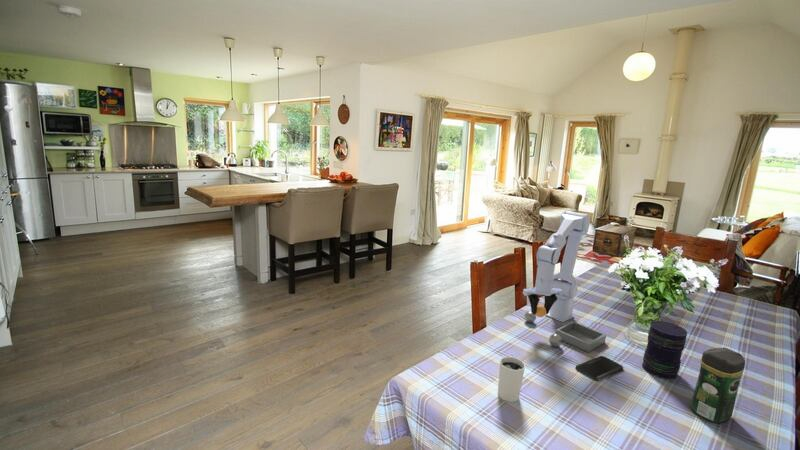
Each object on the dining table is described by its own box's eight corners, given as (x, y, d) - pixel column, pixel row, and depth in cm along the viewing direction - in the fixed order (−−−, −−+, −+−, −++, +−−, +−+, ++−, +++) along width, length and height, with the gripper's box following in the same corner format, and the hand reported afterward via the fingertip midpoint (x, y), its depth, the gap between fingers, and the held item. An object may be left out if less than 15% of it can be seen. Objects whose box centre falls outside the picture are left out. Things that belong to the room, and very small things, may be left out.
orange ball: (537, 312, 148) (538, 302, 147) (547, 317, 145) (549, 306, 144) (530, 315, 145) (532, 304, 144) (541, 320, 142) (542, 309, 141)
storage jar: (660, 381, 120) (670, 337, 117) (634, 363, 129) (642, 322, 126) (685, 377, 123) (695, 334, 119) (657, 360, 132) (666, 319, 129)
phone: (625, 367, 125) (596, 379, 118) (624, 370, 126) (596, 382, 118) (602, 355, 132) (573, 365, 124) (601, 358, 132) (573, 369, 125)
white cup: (502, 384, 114) (506, 354, 112) (524, 394, 110) (528, 363, 108) (492, 395, 109) (495, 363, 107) (514, 406, 105) (519, 373, 103)
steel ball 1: (527, 318, 158) (529, 308, 157) (537, 322, 155) (538, 312, 154) (521, 321, 156) (522, 311, 155) (531, 325, 152) (532, 315, 151)
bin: (571, 328, 152) (572, 321, 151) (604, 342, 142) (606, 334, 141) (554, 337, 144) (555, 329, 143) (588, 353, 134) (589, 344, 134)
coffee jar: (703, 400, 112) (718, 341, 108) (736, 418, 105) (753, 356, 101) (683, 408, 108) (698, 347, 104) (715, 427, 101) (733, 363, 97)
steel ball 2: (552, 341, 141) (554, 330, 140) (563, 346, 137) (565, 335, 136) (545, 345, 138) (547, 333, 137) (557, 350, 135) (559, 339, 134)
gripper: (531, 282, 137) (526, 318, 140) (569, 282, 139) (563, 317, 142) (522, 275, 143) (517, 309, 146) (558, 275, 146) (553, 309, 149)
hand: (539, 313), depth 145 cm, fingers closed on orange ball, 4 cm apart
